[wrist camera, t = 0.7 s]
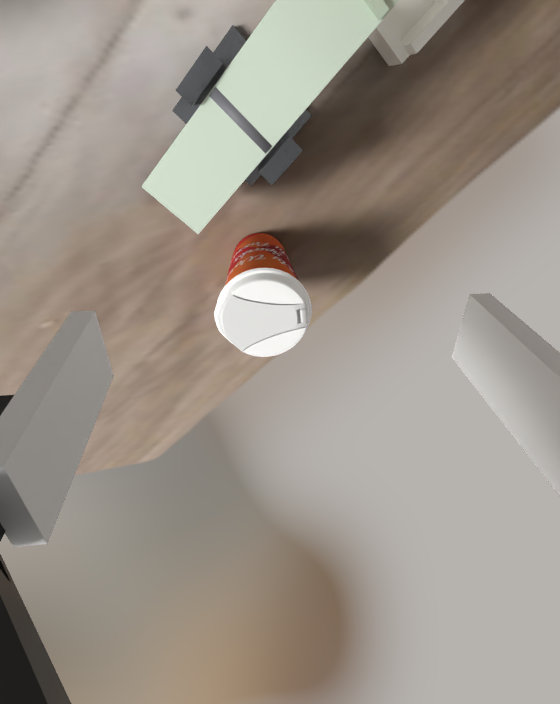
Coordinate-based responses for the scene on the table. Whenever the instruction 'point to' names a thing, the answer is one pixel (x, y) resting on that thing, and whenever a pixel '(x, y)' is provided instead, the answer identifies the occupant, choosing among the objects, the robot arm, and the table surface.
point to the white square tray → (410, 27)
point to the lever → (259, 101)
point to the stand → (202, 83)
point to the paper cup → (262, 299)
